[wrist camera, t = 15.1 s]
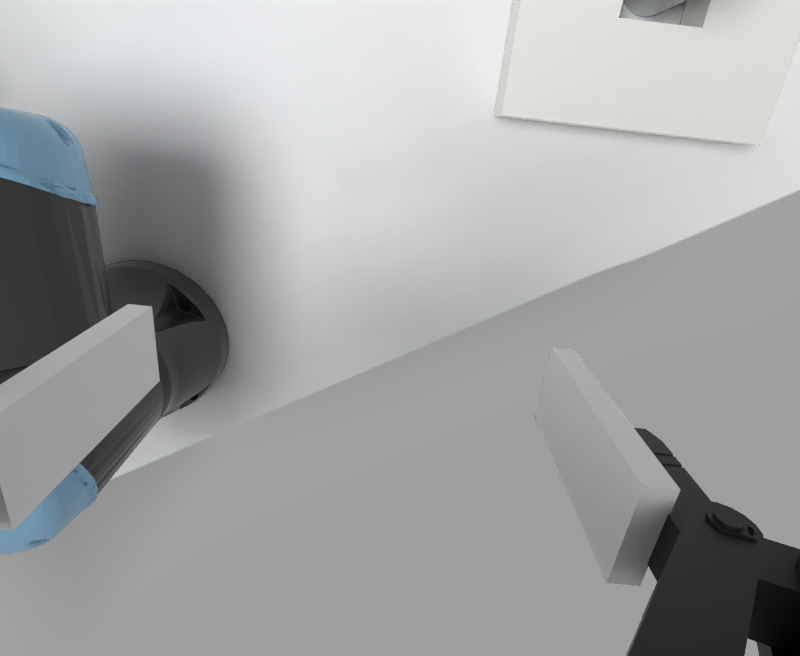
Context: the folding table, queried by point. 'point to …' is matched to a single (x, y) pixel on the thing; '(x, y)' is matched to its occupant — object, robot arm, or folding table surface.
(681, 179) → the folding table surface
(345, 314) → the folding table surface
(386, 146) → the folding table surface
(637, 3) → the steel pin
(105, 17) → the folding table surface
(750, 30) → the socket block
